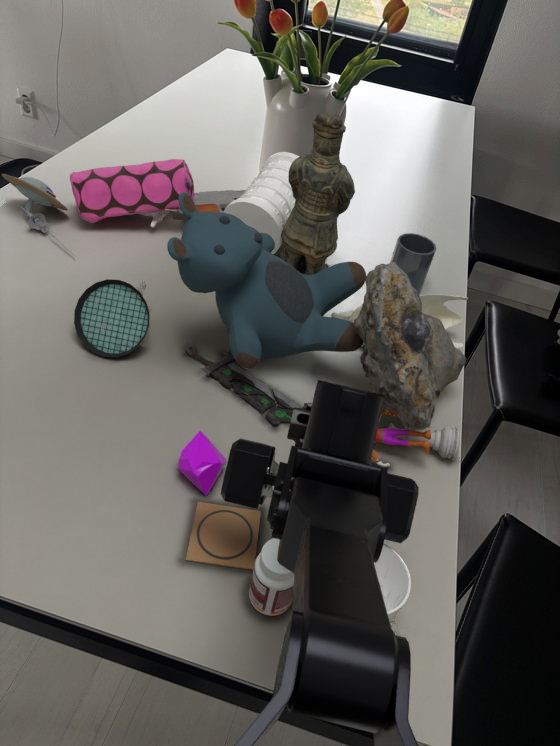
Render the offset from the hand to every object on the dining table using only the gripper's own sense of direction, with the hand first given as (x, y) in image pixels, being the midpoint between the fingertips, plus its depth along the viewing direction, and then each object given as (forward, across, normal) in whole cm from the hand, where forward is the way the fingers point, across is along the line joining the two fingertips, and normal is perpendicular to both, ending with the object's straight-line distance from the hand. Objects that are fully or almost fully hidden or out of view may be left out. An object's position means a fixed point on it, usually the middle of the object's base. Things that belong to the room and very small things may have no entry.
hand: (316, 478), depth 69 cm
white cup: (-3, -6, +14) cm, 15 cm away
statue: (+40, +8, -30) cm, 51 cm away
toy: (+36, +55, -25) cm, 70 cm away
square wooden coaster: (+1, +9, +9) cm, 12 cm away
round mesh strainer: (+17, +32, -14) cm, 39 cm away
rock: (+14, -2, -15) cm, 21 cm away
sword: (+20, +9, -10) cm, 25 cm away
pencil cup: (+43, -10, -33) cm, 55 cm away
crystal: (+7, +13, +4) cm, 16 cm away
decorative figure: (+46, +53, -36) cm, 79 cm away
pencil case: (+38, +43, -43) cm, 71 cm away
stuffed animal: (+24, +4, -20) cm, 31 cm away
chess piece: (+14, -18, -7) cm, 24 cm away
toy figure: (+14, -9, -6) cm, 18 cm away
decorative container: (+37, +18, -35) cm, 54 cm away
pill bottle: (-2, +2, +13) cm, 13 cm away
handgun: (+44, +18, -36) cm, 60 cm away
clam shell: (+29, -7, -30) cm, 42 cm away
